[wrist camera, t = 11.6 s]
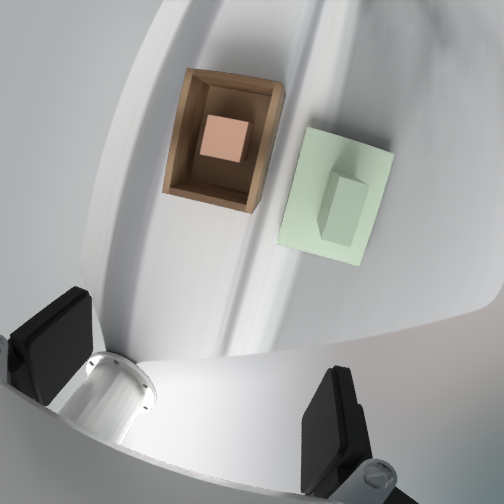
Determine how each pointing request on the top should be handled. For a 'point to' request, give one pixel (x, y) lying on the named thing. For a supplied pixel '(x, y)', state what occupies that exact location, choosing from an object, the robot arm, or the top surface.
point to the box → (192, 131)
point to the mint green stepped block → (334, 196)
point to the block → (226, 138)
